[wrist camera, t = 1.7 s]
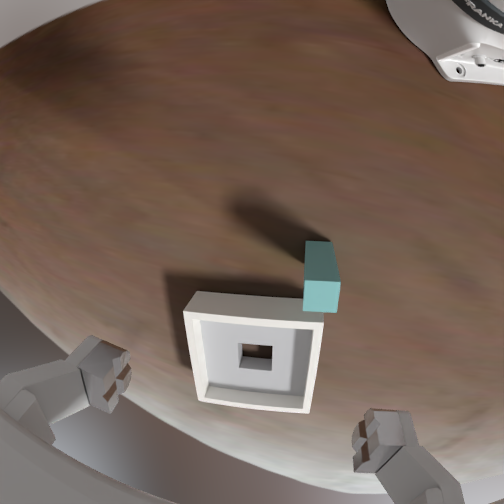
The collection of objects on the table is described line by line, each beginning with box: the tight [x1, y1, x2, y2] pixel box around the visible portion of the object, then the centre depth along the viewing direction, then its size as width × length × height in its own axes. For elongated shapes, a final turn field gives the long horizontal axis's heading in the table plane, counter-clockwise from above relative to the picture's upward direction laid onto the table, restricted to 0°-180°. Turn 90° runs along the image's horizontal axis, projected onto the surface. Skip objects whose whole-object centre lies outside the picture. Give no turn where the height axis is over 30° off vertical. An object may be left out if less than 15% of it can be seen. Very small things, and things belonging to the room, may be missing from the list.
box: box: [183, 291, 324, 413], centre depth 38 cm, size 16×16×5 cm
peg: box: [303, 241, 341, 313], centre depth 30 cm, size 3×3×10 cm
